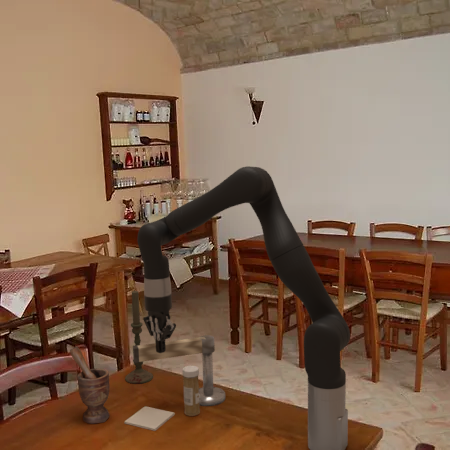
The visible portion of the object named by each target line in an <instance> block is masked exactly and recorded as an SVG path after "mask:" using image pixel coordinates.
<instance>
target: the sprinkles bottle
mask: <svg viewBox="0 0 450 450" xmlns="http://www.w3.org/2000/svg"><path fill="white" fill-rule="evenodd" d="M199 371H200V370H199V366H196V365H186V366H184V367H183V368H182V377H183V378H182V379H183V402H184V403H183V404H184V414H185V415H186V416H188V417H194V416H198V415H199V414H200V413H201V409H200V405H199V388H200V386H199V385H200V384H199V376H200V375H199V374H200V372H199Z"/></svg>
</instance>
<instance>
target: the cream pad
mask: <svg viewBox="0 0 450 450" xmlns="http://www.w3.org/2000/svg"><path fill="white" fill-rule="evenodd" d="M175 414H176V413H175V412H173V411H168V410H164V409H159V408H156V407H155V408H154V407H151V406H150V407H149V406H146V405H145V406H144V407H142V408H141V409H139V410H138V411H136V412H135V413H134V414H133V415H131V416H130V417H128V418H127V419H126V420H124V424H125V425H130V426H134V427H138V428H140V429H141V428H142V429H146V430H149V431H154V432H156V431H157V430H158V429H159V428H161V427H162V426H164V424H165V423H166V422H168V421H169V420H170V419H171V418H173V417H174V416H175Z"/></svg>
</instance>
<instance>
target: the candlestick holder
mask: <svg viewBox="0 0 450 450" xmlns="http://www.w3.org/2000/svg"><path fill="white" fill-rule="evenodd" d="M139 296H140V293H139V291H138V290H135V289H133V290H132V291H131V306H132V323H131V322H130V327H131V332H132V334H133V335H134V337H133V338H134V340H133V341H134V342H133V343H134V346H135V345H137V346H139V345H141V342H142V341H141V336H140V334H141V333H142V331H143V329H142V326H143V322H141V320H140V319H141V318H140V317H141V316H140V299H139ZM132 362H133V365H134V366H135V369H134V370H132V371H131V372H129V373H128V374H127V375H126V376H125V378H124V380H125V382H127V383H128V384H134V385H141V384H146V383H149V382H150V381H151V380H153V379H154V374H153V373H152V372H151V371H148V370H146V369H144V368H143V367H142V366H143V364H144V361H143V362H139V363H135V362H134V359H133V360H132Z"/></svg>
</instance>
